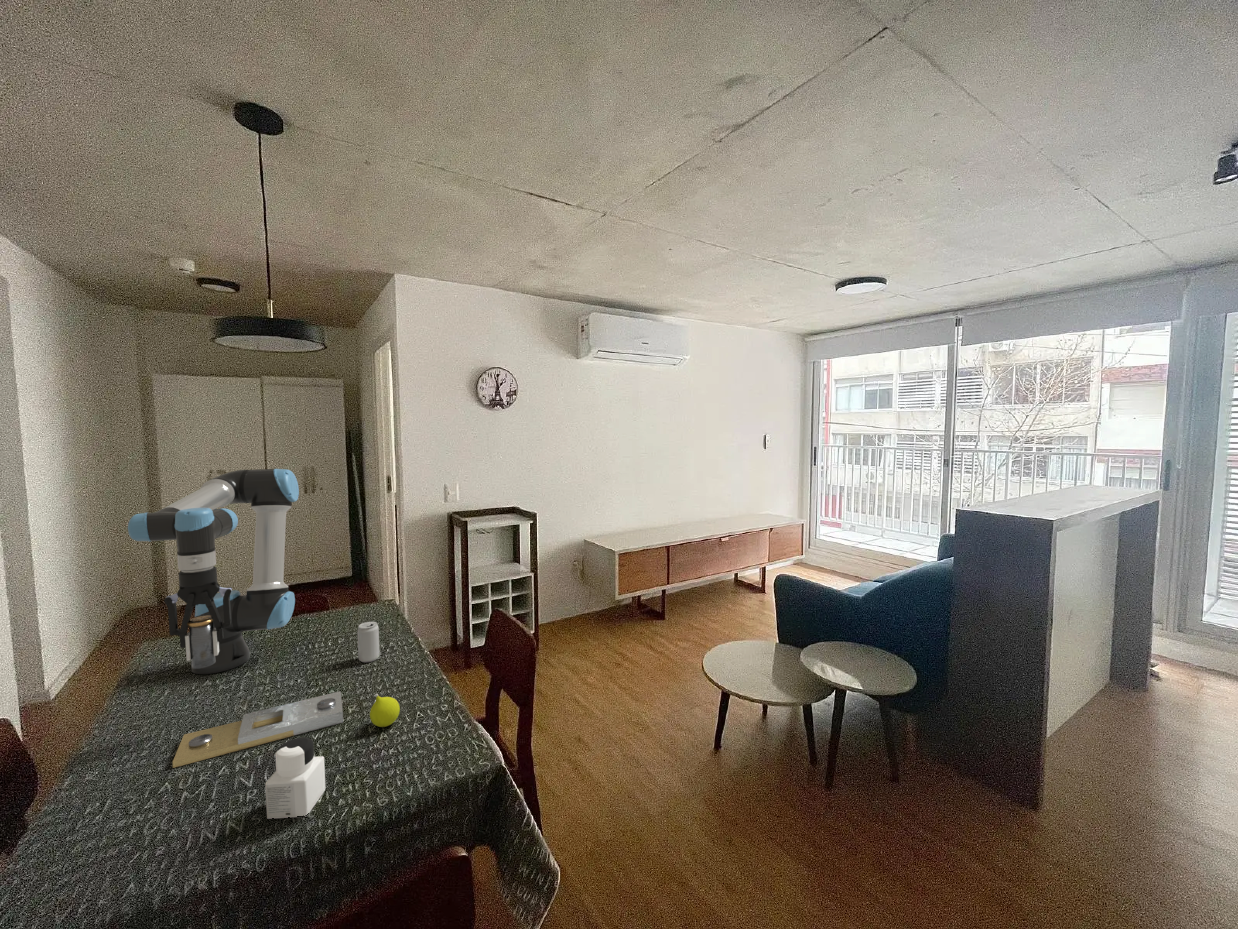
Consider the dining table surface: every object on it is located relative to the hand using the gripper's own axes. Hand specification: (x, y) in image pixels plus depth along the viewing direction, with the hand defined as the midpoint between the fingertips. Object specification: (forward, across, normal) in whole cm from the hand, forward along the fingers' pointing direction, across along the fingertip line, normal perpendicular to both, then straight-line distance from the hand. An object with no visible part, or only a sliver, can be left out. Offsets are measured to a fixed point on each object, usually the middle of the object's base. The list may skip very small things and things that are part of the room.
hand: (203, 656), depth 130 cm
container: (+18, +21, -46) cm, 54 cm away
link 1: (+18, +8, -12) cm, 23 cm away
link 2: (+18, +19, -12) cm, 29 cm away
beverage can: (+19, +40, +19) cm, 48 cm away
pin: (+2, 0, 0) cm, 2 cm away
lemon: (+19, +40, -25) cm, 51 cm away
